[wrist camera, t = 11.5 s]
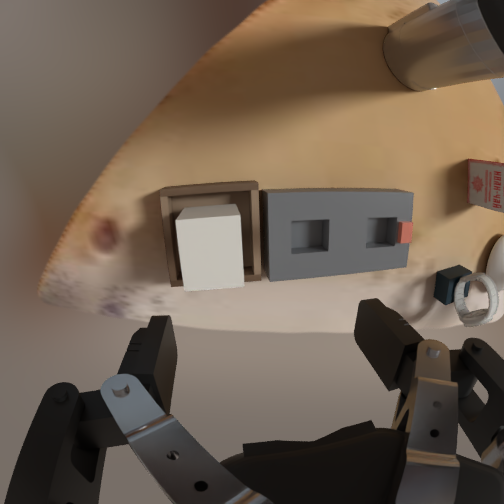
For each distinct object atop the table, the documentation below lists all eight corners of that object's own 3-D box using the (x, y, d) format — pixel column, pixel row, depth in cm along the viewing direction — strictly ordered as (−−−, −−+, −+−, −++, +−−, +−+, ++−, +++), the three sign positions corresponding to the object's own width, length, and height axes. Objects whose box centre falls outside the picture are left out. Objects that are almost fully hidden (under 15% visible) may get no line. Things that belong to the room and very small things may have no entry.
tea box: (480, 160, 32) (528, 168, 22) (479, 202, 34) (525, 216, 24) (468, 158, 31) (517, 165, 22) (467, 202, 33) (515, 217, 24)
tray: (165, 187, 28) (159, 189, 26) (254, 180, 29) (258, 182, 27) (175, 275, 32) (171, 286, 29) (257, 269, 32) (261, 280, 30)
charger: (186, 204, 29) (175, 220, 21) (234, 200, 29) (240, 215, 22) (192, 259, 31) (184, 291, 23) (237, 255, 31) (244, 286, 24)
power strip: (262, 189, 30) (269, 193, 26) (397, 189, 31) (417, 193, 27) (264, 269, 33) (270, 284, 29) (391, 257, 34) (409, 269, 30)
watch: (431, 307, 38) (474, 342, 28) (438, 260, 36) (488, 290, 25) (454, 298, 39) (496, 329, 28) (461, 254, 36) (509, 280, 26)
